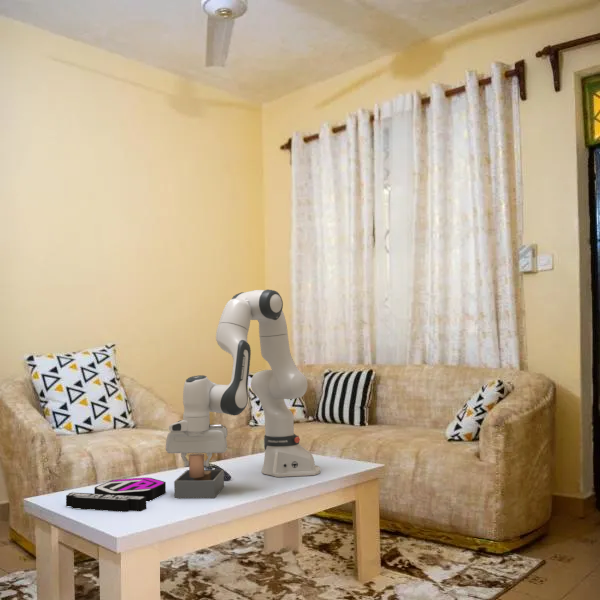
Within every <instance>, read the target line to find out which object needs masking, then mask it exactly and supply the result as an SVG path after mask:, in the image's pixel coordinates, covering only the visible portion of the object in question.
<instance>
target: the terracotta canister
mask: <svg viewBox="0 0 600 600" xmlns="http://www.w3.org/2000/svg"><path fill="white" fill-rule="evenodd" d="M188 461H189V467H188V470H189V477H192V478H199V477H204V470H205V467H204V461H205V453H189V455H188Z"/></svg>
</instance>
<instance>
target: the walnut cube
mask: <svg viewBox="0 0 600 600" xmlns="http://www.w3.org/2000/svg"><path fill="white" fill-rule="evenodd" d="M203 480H211V471H204V477H199V478H194V481H203Z"/></svg>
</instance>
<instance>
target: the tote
mask: <svg viewBox="0 0 600 600" xmlns="http://www.w3.org/2000/svg"><path fill="white" fill-rule="evenodd" d="M204 471H211V480H203V481H194V478H192V477H189V469H186V470H185V471H184V472H183V473H181V474H180V475H179V477H177V478H176V479H175V480H174V481H173V488H174V491H173V494H174V495H173V496H174V498H179V499H215V498H216V497H217V496H218V494H219V493H220V492H221V490H223V488H224V486H225V474H224V473H225V470H224V469H204ZM219 491H220V492H219ZM216 495H217V496H216Z"/></svg>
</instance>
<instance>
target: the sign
mask: <svg viewBox="0 0 600 600" xmlns="http://www.w3.org/2000/svg"><path fill="white" fill-rule="evenodd" d="M166 487H167V486H166V481H164V480H160V479H156V478H152V477H136V478H135V477H133V478H119V479H113V480H109V481H107V482H103V483H102V484H99V485H97V486H95V487H94V489H93V490H94V493H90V492H69V493H68V494H66V496H65V501H66V502H65V506H72V507H71V508H72V509H73V508H81V509H80V510H87V509H95V510H94V511H103V510H108V512H119V511H120V512H121V511H122V513H128V512H142V511H145V510H146V509H147V502H146V501H148V502H150V500H151V501H153V499H154V500H156V499H157V497H158V498H159V496H160V497H162V496H164V495H166V491H167V490H166ZM155 498H156V499H155Z"/></svg>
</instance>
